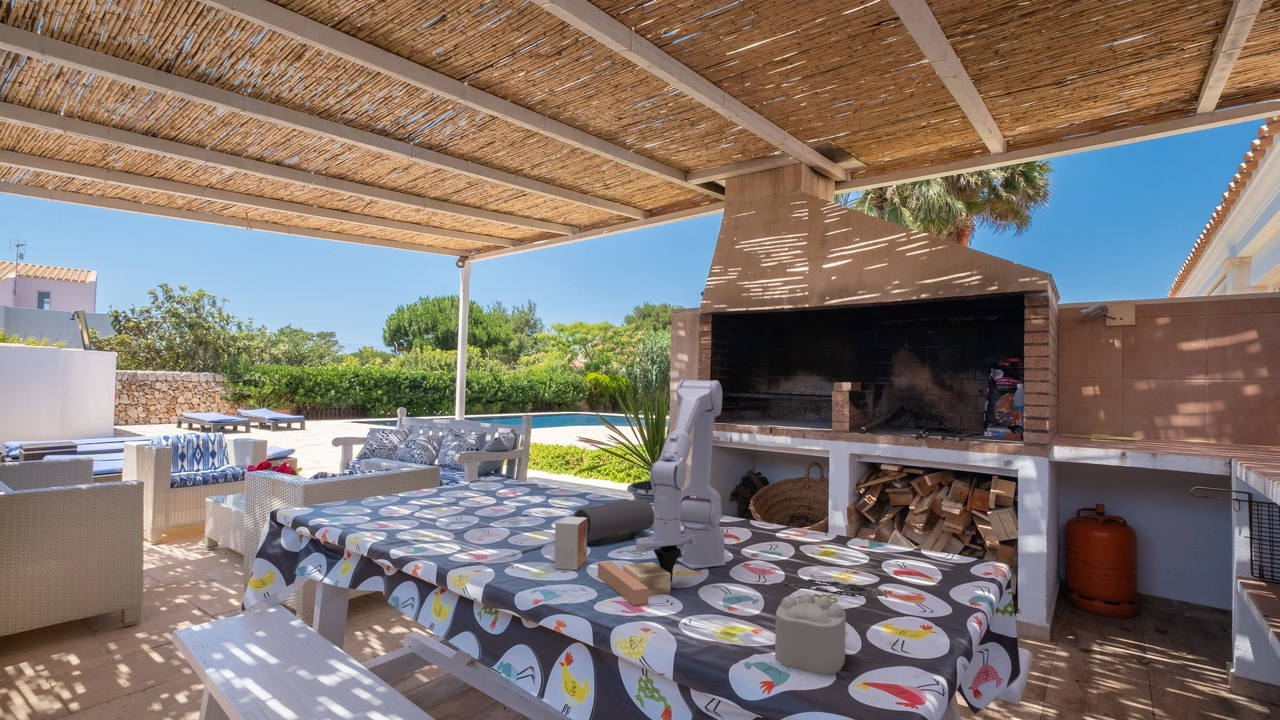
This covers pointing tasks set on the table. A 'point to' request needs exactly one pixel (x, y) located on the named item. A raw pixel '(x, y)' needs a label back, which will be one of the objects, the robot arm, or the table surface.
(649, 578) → the beech block
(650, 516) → the bluetooth speaker
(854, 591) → the driftwood
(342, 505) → the table surface
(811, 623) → the lumpy-topped squat cylinder
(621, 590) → the terracotta batten
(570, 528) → the small box
